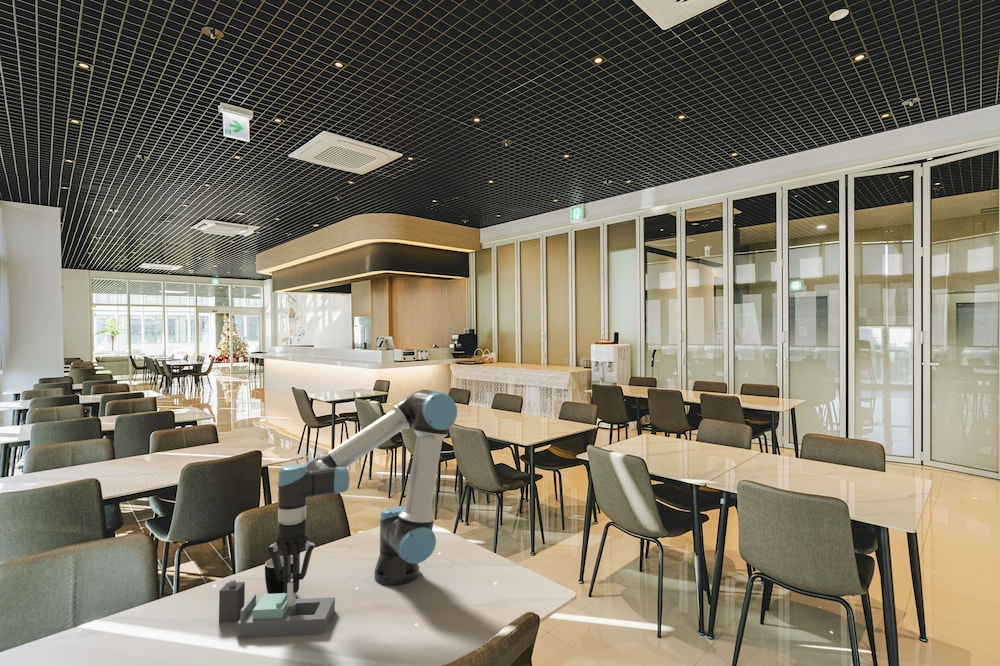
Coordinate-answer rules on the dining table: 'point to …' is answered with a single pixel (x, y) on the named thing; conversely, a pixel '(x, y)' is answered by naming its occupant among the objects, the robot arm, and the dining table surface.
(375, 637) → the dining table surface
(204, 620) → the dining table surface
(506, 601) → the dining table surface
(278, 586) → the mug
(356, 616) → the dining table surface
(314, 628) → the socket
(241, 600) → the plug
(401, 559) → the robot arm
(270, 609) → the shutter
